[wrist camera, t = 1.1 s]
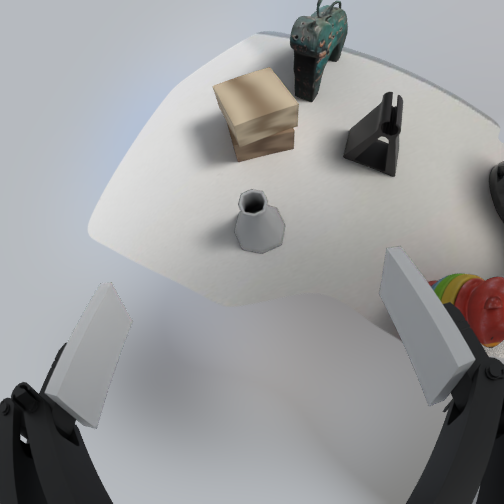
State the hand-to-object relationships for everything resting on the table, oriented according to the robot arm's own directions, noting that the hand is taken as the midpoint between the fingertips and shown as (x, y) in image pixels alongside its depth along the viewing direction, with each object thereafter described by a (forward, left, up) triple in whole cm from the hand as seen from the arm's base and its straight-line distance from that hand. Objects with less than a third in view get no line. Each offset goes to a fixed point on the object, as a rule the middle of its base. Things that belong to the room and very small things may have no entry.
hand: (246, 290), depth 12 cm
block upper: (-5, -26, -20) cm, 34 cm away
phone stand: (-22, -18, -25) cm, 38 cm away
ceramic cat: (-20, -38, -25) cm, 50 cm away
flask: (-1, -10, -25) cm, 27 cm away
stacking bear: (-23, +9, -25) cm, 35 cm away
